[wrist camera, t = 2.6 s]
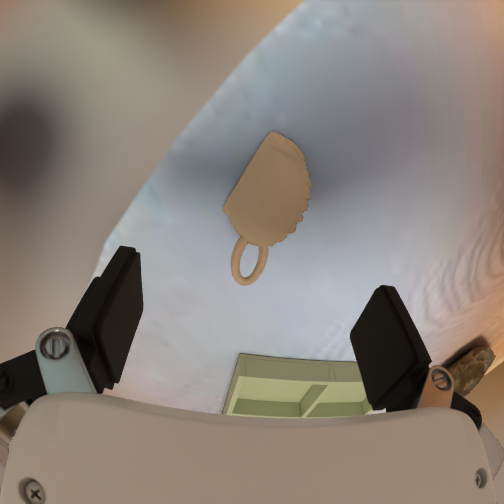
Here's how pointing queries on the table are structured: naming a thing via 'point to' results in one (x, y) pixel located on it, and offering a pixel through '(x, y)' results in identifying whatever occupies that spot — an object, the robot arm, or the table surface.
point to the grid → (295, 389)
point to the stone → (470, 369)
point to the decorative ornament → (268, 200)
